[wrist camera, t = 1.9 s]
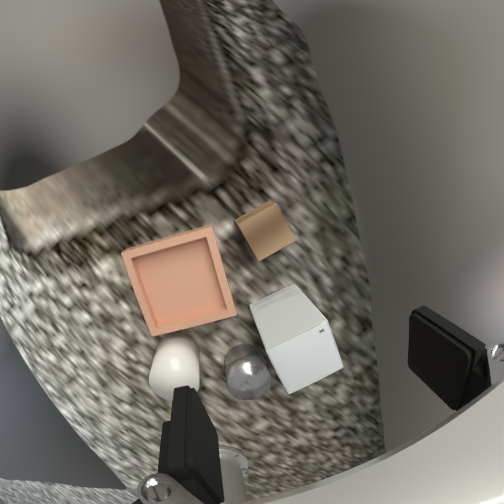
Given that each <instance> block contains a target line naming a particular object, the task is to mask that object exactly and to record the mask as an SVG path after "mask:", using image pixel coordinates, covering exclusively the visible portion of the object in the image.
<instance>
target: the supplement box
mask: <svg viewBox="0 0 504 504" xmlns="http://www.w3.org/2000/svg"><path fill="white" fill-rule="evenodd" d="M249 307H250V310H251V313H252V315H253V318H254V321H255V323H256V326H257V329H258V331H259V334H260V336H261V339H262V342H263V344H264V347H265V350H266V353H267V355H268V357H269V359H270V361H271V363H272V365H273V367H274V369H275V371H276V373H277V375H278V377H279V379H280V380H281V382H282V384H283V386H284V388H285V389H286V391H287V393H288V394H291V393H293V392H295V391H297V390H299V389H302V388H304V387H306V386H308V385H310V384H312V383H314V382H316V381H318V380H320V379H322V378H324V377H326V376H328V375H330V374H332V373H334V372H336V371H338V370H340V369H342V368H343V364H342V361H341V358H340V355H339V352H338V349H337V346H336V342H335V340H334V338H333V335H332V332H331V329H330V326H329V323H328V320H327V319H326V318H325V317H324V316H323V314H322V313H321V312H320V311H319V310H318V309H317V308H316V307H315V306H314V304H313V303H312V302H311V301H310V300H309V299H308V298H307V297H306V296H305V294H304V293H303V292H302V291H301V290H300V289H299V288H298V287H297V286H296V284H292V285H290V286H288V287H286V288H284V289H282V290H280V291H277V292H275V293H273V294H271V295H269V296H267V297H265V298H262V299H260V300H258V301H256V302H254V303H252V304H250V305H249Z"/></svg>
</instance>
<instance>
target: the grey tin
mask: <svg viewBox="0 0 504 504" xmlns="http://www.w3.org/2000/svg"><path fill="white" fill-rule="evenodd" d="M224 362H225V370H226V378H227V385H228V389H229V391H230V393H231V394H232V395H233V396H235V397H236V398H239V399H243V400H252V399H256V398H259V397H261V396H263V395H264V394H265V393H266V392H267V391H268V390H269V389H270V387H271V383H272V379H271V376H270V373H269V370H268V368H267V365H266V362H265V359H264V356H263V354H262V352H261V351H260V349H259V348H257V347H255V346H253V345H250V344H241V345H238V346H235V347H233V348H232V349H230V350H229V351H228V353H227V354H226V356H225V360H224Z"/></svg>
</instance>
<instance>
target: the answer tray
mask: <svg viewBox="0 0 504 504" xmlns="http://www.w3.org/2000/svg"><path fill="white" fill-rule="evenodd" d="M121 254H122V257H123V260H124V263H125V266H126V269H127V272H128V275H129V278H130V281H131V284H132V286H133V289H134V292H135V295H136V297H137V300H138V303H139V305H140V308H141V311H142V313H143V316H144V318H145V321H146V323H147V326H148V328H149V330H150V333H151V335H152V337H153V336H157V335H161V334H166V333H170V332H174V331H178V330H182V329H186V328H190V327H194V326H198V325H202V324H206V323H210V322H214V321H217V320H221V319H225V318H228V317H232V316H236V315H237V313H236V309H235V306H234V302H233V299H232V295H231V292H230V288H229V285H228V281H227V278H226V274H225V271H224V267H223V263H222V260H221V256H220V253H219V249H218V245H217V242H216V238H215V234H214V230H213V227H212V225H208V226H204V227H201V228H197V229H193V230H190V231H186V232H183V233H179V234H176V235H172V236H169V237H165V238H162V239H158V240H155V241H151V242H148V243H145V244H141V245H138V246H135V247H131V248H128V249H126V250H124V251H123V252H122V253H121Z"/></svg>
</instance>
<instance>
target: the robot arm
mask: <svg viewBox="0 0 504 504" xmlns="http://www.w3.org/2000/svg"><path fill="white" fill-rule="evenodd" d="M408 366H409V368H410V369H411V370H412V371H413V372H414V373H415V374H416V375H417V376H418V377H419V378H420V379H421V380H422V381H423V382H424V383H425V384H426V385H427V386H428V387H429V388H430V389H431V390H432V391H434V392H435V393H436V394H437V395H438V396H439V397H440V398H441V399H442V400H443V401H444V402H445V403H446V404H447V405H448V406H449V407H450V408H451V409H452V410H456V412H455V413H454V414H452V415H451V416H449V417H448V418H446V419H445V420H443V421H442V422H440V423H438V424H437V425H435V426H434V427H432V428H431V429H429V430H427V431H425V432H424V433H422V434H420V435H419V436H417V437H416V438H414V439H412V440H410V441H408V442H406V443H405V444H403V445H401V446H399V447H397V448H395V449H393V450H391V451H389V452H387V453H385V454H383V455H381V456H379V457H377V458H375V459H373V460H371V461H368V462H366V463H364V464H362V465H359V466H357V467H355V468H352V469H350V470H347V471H345V472H343V473H340V474H337V475H335V476H332V477H329V478H327V479H324V480H321V481H318V482H315V483H312V484H309V485H306V486H303V487H300V488H296V489H293V490H290V491H286V492H283V493H279V494H275V495H272V496H268V497H264V498H260V499H255V500H251V501H247V496H246V490H245V485H244V480H243V474H244V473H245V472H246V470H247V469H248V465H249V463H248V459H247V457H246V456H245V455H244V453H242V452H241V451H239V450H236V449H233V448H230V447H224V446H219V443H218V435H217V432H216V429H215V427H214V426H213V424H212V422H211V420H210V418H209V416H208V414H207V412H206V410H205V408H204V406H203V404H202V402H201V400H200V398H199V396H198V394H197V392H196V390H195V388H190V387H189V386H188V385H187V386H182V387H177V388H174V392H173V402H172V411H171V421H166V422H164V423H163V427H162V435H161V444H160V454H159V464H158V473H155V474H151V475H149V476H147V477H145V478H144V479H143V480H142V481H141V482H140V484H139V485H138V489H137V494H138V497H139V499H138V500H136V501H135V502H134V503H132V504H504V342H497V343H494V344H492V345H491V346H490V347H489V348H488V350H487V349H485V344H484V343H482V342H481V341H479V340H478V339H476V338H475V337H473V336H472V335H470V334H469V333H467V332H466V331H464V330H463V329H461V328H459V327H458V326H456V325H455V324H453V323H452V322H450V321H448V320H447V319H445V318H444V317H442V316H440V315H439V314H437V313H435V312H434V311H432V310H431V309H429V308H428V307H426V306H421V307H419V308H417V309H415V310H413V311H412V313H411V315H410V317H409V349H408Z"/></svg>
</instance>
